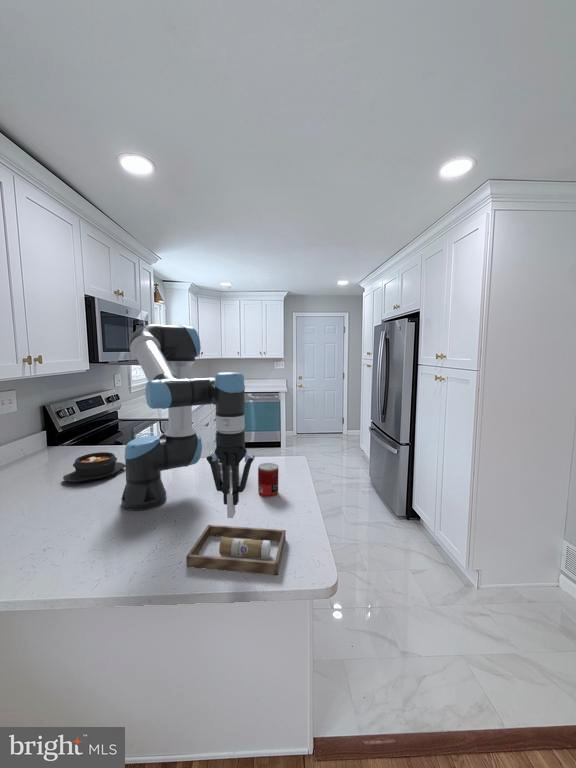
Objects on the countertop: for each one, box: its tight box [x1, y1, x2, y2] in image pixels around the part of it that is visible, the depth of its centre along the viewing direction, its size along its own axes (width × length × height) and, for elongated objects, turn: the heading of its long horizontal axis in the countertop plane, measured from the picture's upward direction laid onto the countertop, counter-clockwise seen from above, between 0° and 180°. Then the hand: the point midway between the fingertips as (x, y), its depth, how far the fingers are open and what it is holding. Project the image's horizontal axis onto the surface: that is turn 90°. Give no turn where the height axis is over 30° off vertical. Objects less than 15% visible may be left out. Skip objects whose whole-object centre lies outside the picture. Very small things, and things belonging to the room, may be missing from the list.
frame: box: [185, 524, 287, 576], centre depth 90 cm, size 24×16×3 cm, turn 83°
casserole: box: [62, 451, 126, 483], centre depth 146 cm, size 25×19×8 cm
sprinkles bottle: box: [218, 537, 272, 561], centre depth 89 cm, size 5×5×13 cm
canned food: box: [257, 462, 279, 498], centre depth 129 cm, size 8×8×11 cm
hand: (231, 515), depth 90 cm, fingers closed
